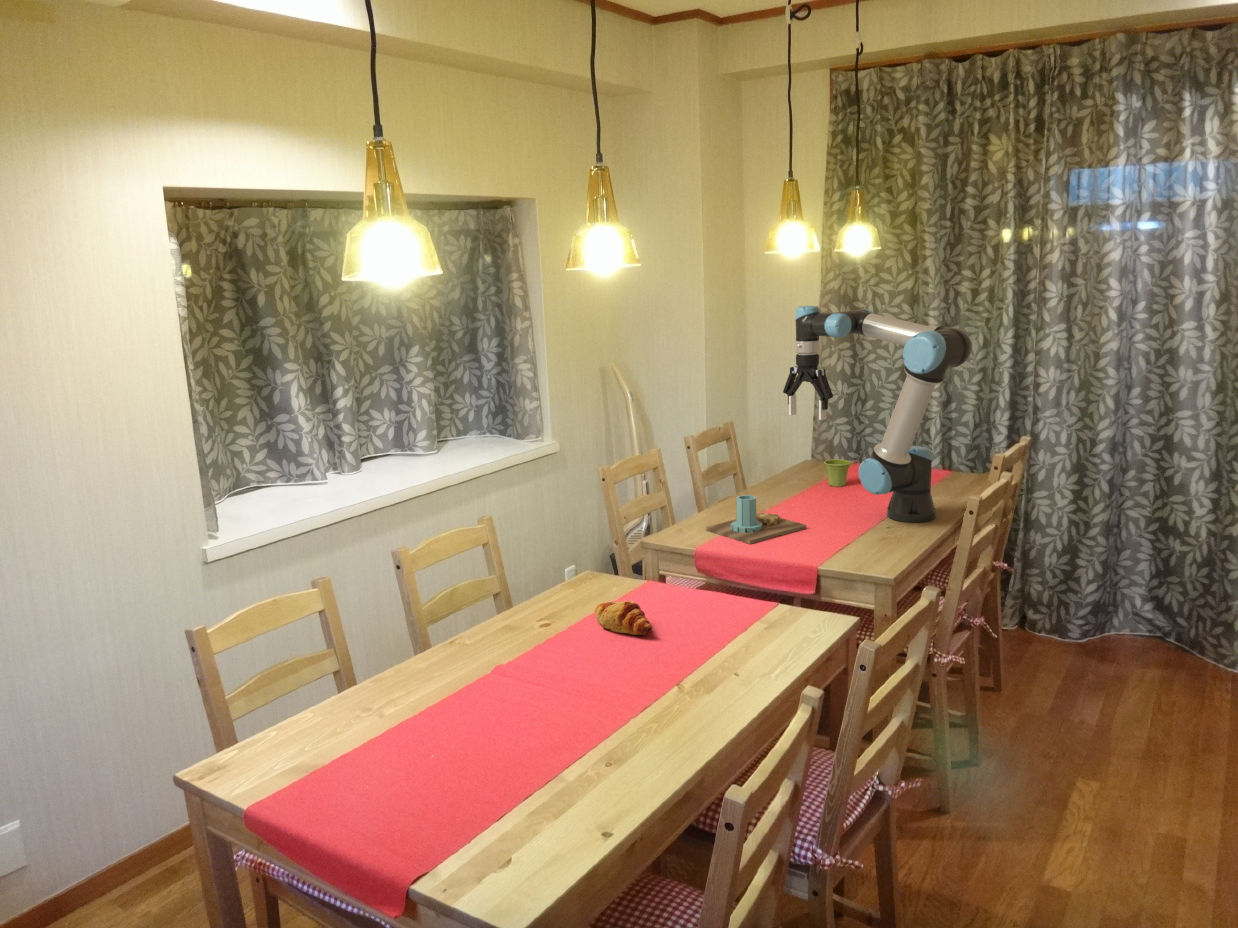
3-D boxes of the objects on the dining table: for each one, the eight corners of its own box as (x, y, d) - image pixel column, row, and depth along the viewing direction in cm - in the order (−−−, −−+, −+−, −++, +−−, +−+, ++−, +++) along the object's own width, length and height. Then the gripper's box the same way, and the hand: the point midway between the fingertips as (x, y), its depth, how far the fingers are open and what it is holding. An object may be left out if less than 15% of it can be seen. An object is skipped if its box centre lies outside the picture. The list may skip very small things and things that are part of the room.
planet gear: (768, 528, 307) (768, 497, 304) (745, 534, 301) (745, 503, 299) (747, 522, 314) (747, 492, 312) (724, 528, 309) (724, 497, 307)
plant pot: (848, 481, 366) (848, 459, 364) (851, 487, 357) (852, 464, 355) (823, 482, 367) (823, 459, 365) (825, 488, 358) (825, 465, 356)
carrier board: (806, 528, 309) (806, 509, 308) (749, 544, 296) (749, 524, 294) (761, 516, 325) (761, 498, 324) (706, 530, 311) (705, 511, 310)
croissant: (588, 630, 243) (574, 607, 240) (615, 603, 248) (602, 580, 244) (643, 654, 227) (629, 629, 223) (671, 624, 231) (657, 600, 228)
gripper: (772, 352, 332) (772, 414, 336) (828, 357, 312) (827, 423, 316) (788, 350, 336) (788, 411, 340) (844, 354, 316) (843, 419, 320)
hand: (807, 417), depth 328 cm, fingers open, 13 cm apart
